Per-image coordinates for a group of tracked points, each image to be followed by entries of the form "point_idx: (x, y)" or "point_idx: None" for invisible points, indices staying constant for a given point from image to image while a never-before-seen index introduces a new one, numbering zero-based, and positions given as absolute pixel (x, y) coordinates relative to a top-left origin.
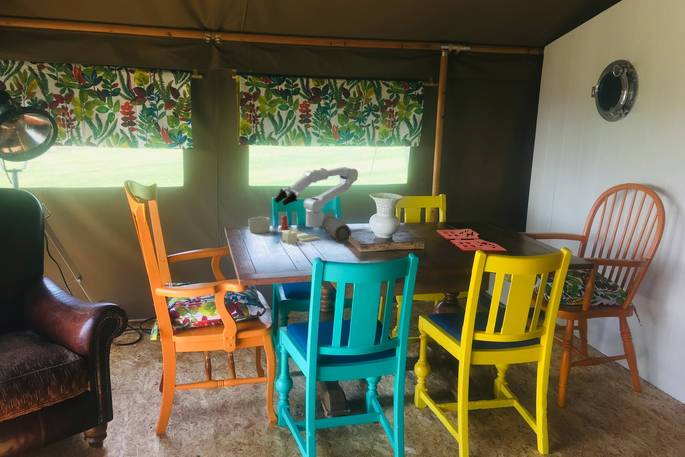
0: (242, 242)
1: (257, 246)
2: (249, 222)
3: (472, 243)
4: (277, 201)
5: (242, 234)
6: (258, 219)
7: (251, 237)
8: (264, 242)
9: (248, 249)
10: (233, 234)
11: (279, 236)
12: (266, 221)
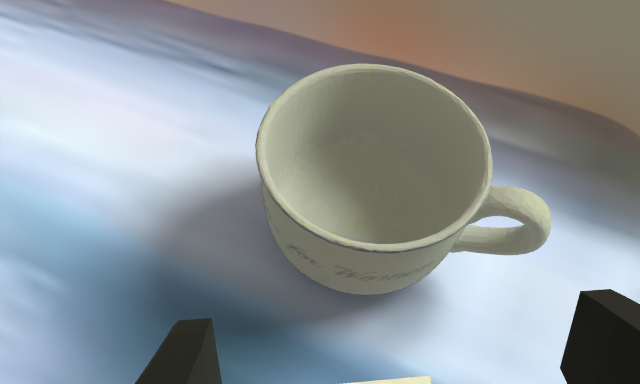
0: (178, 48)
1: (24, 77)
2: (362, 78)
3: None
4: (584, 380)
5: None
6: (473, 192)
7: None
8: (81, 149)
9: (6, 20)
10: None
11: None
12: (263, 181)
